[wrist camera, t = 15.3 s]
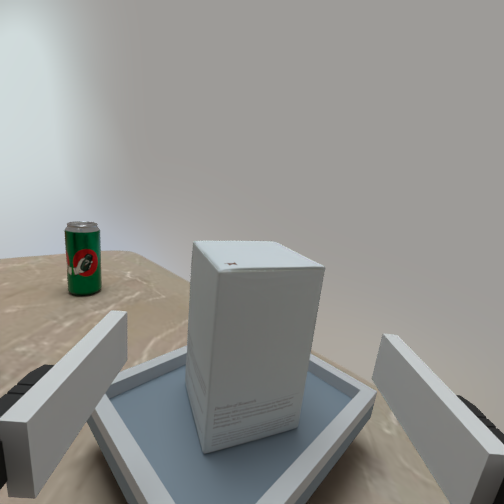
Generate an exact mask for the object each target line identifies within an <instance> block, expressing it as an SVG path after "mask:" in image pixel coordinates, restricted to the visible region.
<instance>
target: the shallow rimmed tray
mask: <svg viewBox="0 0 504 504" xmlns="http://www.w3.org/2000/svg"><path fill="white" fill-rule="evenodd" d="M186 357H187V346H184V347H182V348H179V349H177V350H174V351H172V352H169V353H167V354H164V355H162V356H159V357H157V358H154V359H152V360H149V361H147V362H144V363H141V364H139V365H136V366H134V367H131V368H129V369H126V370H124V371H121V372H119V373H118V375H117V376H116V378H115V379H114V381H113V382H112V384H111V385H110V387H109V388H108V390H107V391H106V393H105V394H104V396H103V397H102V399H101V400H100V402H99V403H98V405H97V406H96V408H95V409H94V411H93V412H92V414H91V415H90V417H89V418H88V420H87V423H88V425H89V427H90V429H91V431H92V433H93V435H94V437H95V439H96V441H97V443H98V445H99V447H100V449H101V451H102V453H103V455H104V457H105V459H106V461H107V463H108V465H109V467H110V469H111V471H112V473H113V475H114V477H115V479H116V481H117V483H118V485H119V487H120V489H121V491H122V493H123V495H124V497H125V498H126V500H127V502H128V504H305V503H306V502H307V501H308V499H309V498H310V497H311V495H312V494H313V493H314V491H315V490H316V489H317V488H318V486H319V485H320V484H321V482H322V481H323V480H324V478H325V477H326V476H327V474H328V473H329V472H330V470H331V469H332V468H333V466H334V465H335V464H336V462H337V461H338V460H339V458H340V457H341V456H342V455H343V453H344V452H345V451H346V449H347V448H348V447H349V445H350V444H351V443H352V441H353V440H354V439H355V437H356V436H357V435H358V433H359V432H360V431H361V429H362V428H363V427H364V425H365V424H366V423H367V421H368V420H369V419H370V417H371V413H372V410H373V406H374V402H375V398H376V394H377V391H375V390H374V389H372V388H370V387H368V386H367V385H365V384H363V383H361V382H360V381H358V380H356V379H354V378H353V377H351V376H349V375H347V374H346V373H344V372H342V371H340V370H339V369H337V368H335V367H333V366H332V365H330V364H328V363H326V362H325V361H323V360H321V359H319V358H317V357H316V356H314V355H312V354H310V359H309V365H308V371H307V377H306V383H305V389H304V395H303V401H302V406H301V412H300V418H299V424H298V427H297V428H294V429H292V430H289V431H286V432H282V433H278V434H275V435H271V436H268V437H264V438H261V439H258V440H254V441H250V442H246V443H243V444H239V445H235V446H232V447H228V448H225V449H221V450H217V451H214V452H210V453H206V454H204V453H203V452H202V447H201V443H200V439H199V436H198V432H197V428H196V424H195V420H194V416H193V412H192V408H191V404H190V400H189V396H188V392H187V388H186V383H185V372H186Z"/></svg>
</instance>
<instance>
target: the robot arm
mask: <svg viewBox="0 0 504 504" xmlns="http://www.w3.org/2000/svg"><path fill="white" fill-rule="evenodd" d="M126 361H127V312H125V311H113V310H112V311H110V312H109V313H108V314H107V315H106V316H105V317H104V318H103V319H102V320H101V321H100V322H99V323H98V324H97V325H96V326H95V327H94V328H93V329H92V330H91V331H90V332H89V333H88V334H87V335H86V336H85V337H84V338H82V339H81V340H80V341H79V342H78V343H77V344H76V345H75V346H74V347H73V348H72V349H71V350H70V351H69V352H68V353H67V354H66V355H65V356H64V357H63V358H62V359H61V360H60V361H59V362H58V363H57V364H56V365H43V366H41V367H39V368H37V369H35V370H34V371H32V372H30V373H28V374H27V375H26V376H25V377H24V378H23V379H22V380H21V381H19V382H18V383H17V385H15V386H14V387H13V388H12V389H10V390H9V391H8V393H7V394H5V395H4V396H3V397H1V398H0V489H1V488H2V487H3V486H4V484H5V483H7V490H8V497H17V498H36V497H37V495H38V494H39V492H40V491H41V489H42V488H43V486H44V485H45V483H46V482H47V480H48V479H49V477H50V476H51V474H52V473H53V471H54V470H55V468H56V467H57V465H58V463H59V462H60V460H61V459H62V457H63V456H64V454H65V453H66V451H67V450H68V448H69V447H70V445H71V444H72V442H73V441H74V439H75V438H76V436H77V435H78V433H79V432H80V430H81V429H82V427H83V426H84V424H85V423H86V421H87V420H88V418H89V417H90V415H91V414H92V412H93V411H94V409H95V408H96V406H97V405H98V403H99V402H100V400H101V399H102V397H103V396H104V394H105V393H106V391H107V390H108V388H109V387H110V385H111V384H112V382H113V381H114V379H115V378H116V376H117V375H118V373H119V372H120V370H121V369H122V367H123V366H124V364H125V363H126ZM372 380H373V381H374V383H375V385H376V386H377V388H378V390H379V391H380V393H381V394H382V396H383V397H384V399H385V401H386V402H387V404H388V405H389V407H390V409H391V410H392V412H393V413H394V415H395V417H396V418H397V420H398V421H399V423H400V424H401V426H402V428H403V429H404V431H405V432H406V434H407V436H408V437H409V439H410V440H411V442H412V444H413V445H414V447H415V448H416V450H417V451H418V453H419V455H420V456H421V458H422V459H423V461H424V463H425V464H426V466H427V467H428V469H429V471H430V472H431V474H432V475H433V477H434V478H435V480H436V482H437V483H438V485H439V486H440V488H441V490H442V491H443V493H444V494H445V496H446V497H447V499H448V501H449V502H450V504H504V434H503V433H502V432H501V431H500V430H499V429H496V426H495V425H494V424H493V423H492V422H491V421H490V420H489V419H486V416H484V414H483V413H481V411H480V410H479V409H478V408H477V407H476V406H475V405H473V404H472V403H470V402H469V401H467V400H466V399H464V398H463V397H461V396H459V395H455V394H454V393H453V392H452V391H451V390H450V389H449V388H448V387H447V386H446V385H445V384H444V383H443V382H442V381H441V380H440V378H439V377H437V375H436V374H435V373H434V372H432V370H431V369H430V368H429V367H428V366H427V365H426V364H425V363H424V362H423V361H422V360H421V359H420V358H419V357H418V356H417V355H416V354H415V353H414V352H413V351H412V350H411V349H410V348H409V347H408V346H407V345H406V344H405V343H404V341H402V339H401V338H400V337H399V336H398V335H393V334H383V335H382V339H381V343H380V347H379V351H378V356H377V359H376V364H375V368H374V372H373V376H372Z"/></svg>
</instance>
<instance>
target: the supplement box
mask: <svg viewBox="0 0 504 504" xmlns="http://www.w3.org/2000/svg"><path fill="white" fill-rule="evenodd" d="M324 271H325V266H323V265H321V264H319V263H317V262H315V261H313V260H310V259H309V258H307V257H304V256H302V255H300V254H299V253H297V252H295V251H293V250H290V249H289V248H287V247H285V246H283V245H281V244H279V243H277V242H271V241H194V242H193V251H192V263H191V281H190V301H189V320H188V340H187V357H186V372H185V383H186V388H187V392H188V396H189V400H190V404H191V408H192V412H193V416H194V420H195V424H196V428H197V432H198V436H199V439H200V443H201V447H202V452H203V453H204V454H206V453H210V452H214V451H217V450H221V449H225V448H228V447H232V446H235V445H239V444H243V443H246V442H250V441H254V440H258V439H261V438H264V437H268V436H271V435H275V434H278V433H282V432H286V431H289V430H292V429H294V428H297V427H298V424H299V418H300V412H301V406H302V401H303V395H304V389H305V383H306V377H307V371H308V365H309V359H310V353H311V347H312V341H313V334H314V329H315V324H316V317H317V312H318V306H319V300H320V294H321V288H322V282H323V276H324Z"/></svg>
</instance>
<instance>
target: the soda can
mask: <svg viewBox="0 0 504 504" xmlns="http://www.w3.org/2000/svg"><path fill="white" fill-rule="evenodd" d="M67 225H68V226H67V227H66V229H65V245H66V262H67V279H68V291H69V292H71V293H72V294H74V295H79V296H85V295H91V294H94V293H96V292H98V291H99V290H100V289H101V287H102V282H101V249H100V229H99V228H98V227H97V223H94V222H82V221H79V222H69V223H67Z"/></svg>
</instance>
